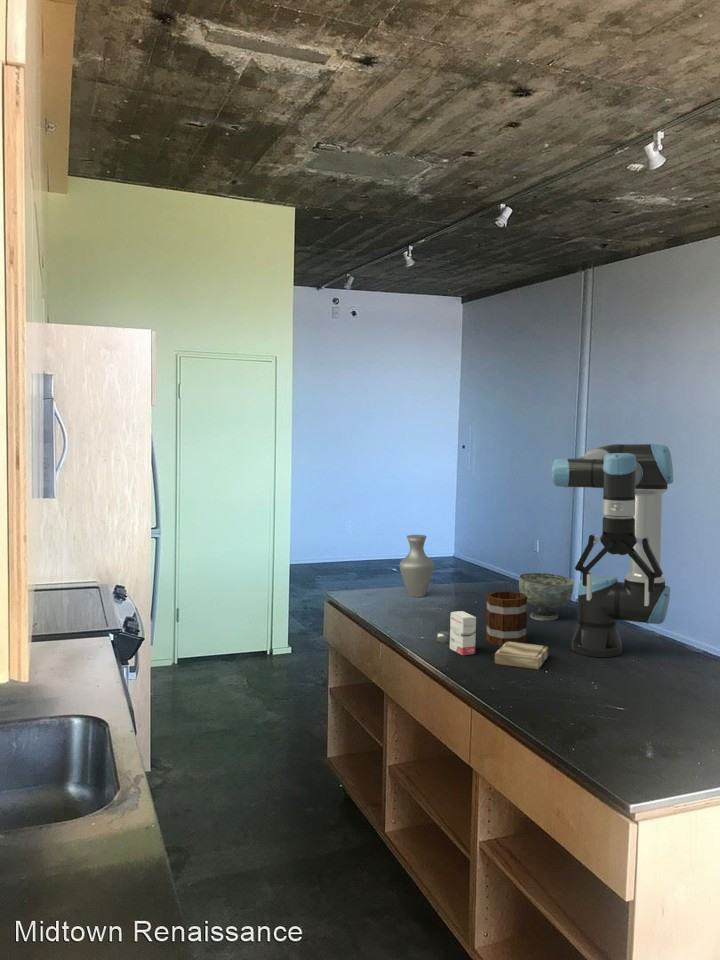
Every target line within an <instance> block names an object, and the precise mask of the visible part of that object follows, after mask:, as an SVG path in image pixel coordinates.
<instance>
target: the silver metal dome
mask: <svg viewBox="0 0 720 960" xmlns="http://www.w3.org/2000/svg"><path fill="white" fill-rule="evenodd" d="M436 642H437V643H438V644H444V645H445V644H450V631H443V630H442V631H441V630H440V631H437V632H436Z"/></svg>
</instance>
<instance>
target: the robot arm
mask: <svg viewBox="0 0 720 960" xmlns="http://www.w3.org/2000/svg"><path fill="white" fill-rule="evenodd" d="M673 467H674V466H673V460H672V454H671V451H670V448H669V447H668V446H667V445H665V444H655V443H650V444H649V443H647V444H646V443H644V444H642V443H641V444H638V443H634V444H633V443H630V444H629V443H627V444H623V443H622V444H621V443H618V444H617V443H616V444H615V443H614V444H608V445H603V446H599V447H597V448H593V449H590V450H588V451H587V452H585V454H584V455H582V456H578V457H575V458H566V457H565V458H564V457H563V458H557V459H555V460H554V461H553V463H552V465H551V481H552V483H553V485H554V486H556V487H562V488H592V489H602V490H603V491H602V515H603V517H602V529H601V530H602V531H601V533H602V534H601V535H596V534H595V533H592V534H590V535H589V536H588V542H587V545H586V547H585V549H584V551H583V552H582V554H581V555H580V558H579V560H578V561H577V563H576V564H575V567H574V570H575V571H576V572H580V573H581V574H582V579H580V581H579V582H578V587H577V589H578V590H577V625H576V628H575V631H574V634H573V636H572V639H571V650H572V651H573V652H575V653H577V654H579V655H583V656H588V657H595V658H611V657H612V658H613V657H617V656H620V655H621V654H622V653H623V643H622V641H621V637H620V634H619V631H618V628H617V627H618V626H617V621H624V622H632V623H633V622H634V623H644V624H646V625H649V624H650V625H651V624H654V625H660V624H663V623H664V622H665V620H666V616H667V612H668V608H669V603H670V597H671V587H670V586H669V585H666V579H665V578H664V577H663V576H662V575H663V574H664V572H663V570H662V569H661V550H662V547H661V545H662V510H663V509H662V508H663V507H662V506H663V504H662V502H663V495H664V493H666V492H667V491H668V485H671V484H673V483H674V468H673ZM599 542H600V543H601V544H602V545H603V548H602V549H601V550H600V551H599V552H598V553H597V555H595V556H594V558H593V559H592V560H590V562H589V563H588V564H587V565H586V566H584V565H585V563H586V561H587V559H588V557H589V555H590V554H591V552H592V550H593V548H594V546H595V545H596V544H598V543H599ZM607 553H609V554H610V555H620V556H625V555H626V556H627V555H628V556H629V572H628V573H627V574H626V575H625V576H624V581H623V582H622V581H619V579H618V577H617V576H615V575H609V574H607V575H606V574H605V575H593V572H589V571H590V570H591V569H592V568H593V567H595V565H596V564H597V563H599V561H601V559H602V558H603V557H604V556H605V555H606V554H607Z"/></svg>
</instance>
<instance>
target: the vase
mask: <svg viewBox="0 0 720 960" xmlns="http://www.w3.org/2000/svg"><path fill="white" fill-rule="evenodd" d="M427 537H428V536H427V535H425V534H410V535H407V536H406V539H407V541H408V544H409V552H408V554H407V555H406V556H405V557H404V558H402V560H400V561H399V569H400V570H399V571H400V573H401V577H402V580H403V583H404V587H405V588H406V591H407V594H408V597H412V598H422V597H425V596H426V594H427V591H428V589H429V587H430V584H431V579H432V577H433V574H434V570H435V563H434V561H433V559H431V558H430V557H428V556H427V555H426V553H425V550H424V545H425V541H426V539H427Z"/></svg>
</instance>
